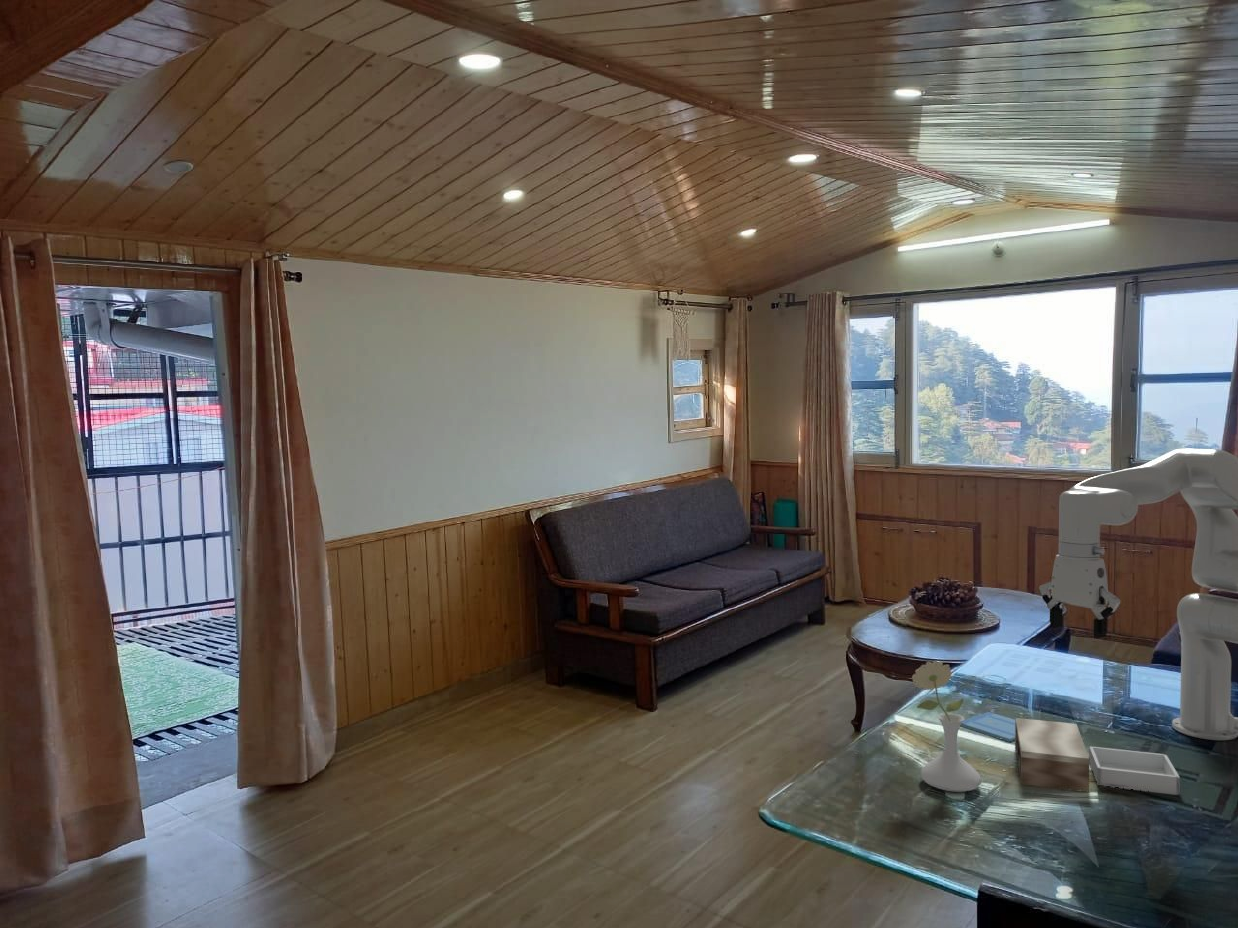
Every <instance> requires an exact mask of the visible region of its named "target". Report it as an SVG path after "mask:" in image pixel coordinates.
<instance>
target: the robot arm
mask: <svg viewBox="0 0 1238 928" xmlns="http://www.w3.org/2000/svg"><path fill="white" fill-rule="evenodd" d="M1179 492H1180V494H1181V496H1182V498H1183V500H1184V501H1185V502H1186V503H1187V505H1188V506H1189V508H1190V509H1191V510H1192V513H1193V515H1194V517H1195V521H1196V535H1195V536H1196V537H1195V541H1194V542H1195V543H1194V551H1193V555H1192V564H1191V577H1192V580H1193V582H1195V584H1196V585H1199V586H1201V587H1204V588H1208V589H1213V590H1218V591H1224V592H1228V593H1229V592H1230V593H1235V594H1238V516H1237V514H1236V512H1235V511H1234V510H1238V457H1237V456H1235V455H1234V454H1232V453H1230V452H1228V451H1226V450H1223V449H1220V448H1219V449H1217V448H1191V447H1189V448H1188V447H1187V448H1186V447H1185V448H1176V449H1173V450H1169V451H1168V452H1166V453H1164V454H1162V455H1160V456H1158V457H1156V458H1153V459H1152V460H1150V461H1148V462H1145V463H1143V464H1141V465H1139V466H1135V467H1130V468H1124V469H1122V470H1121V469H1120V470H1117V471H1113V472H1108V473H1103V474H1099V475H1097V476H1093V477H1090V478H1087V479H1085V480H1083V481H1081V482H1079V483H1077V484H1075V485H1073V486H1072V487H1070V488H1069V490H1066V491H1062V492H1061V494H1060V495H1059V499H1058V500H1059V502H1058V506H1059V509H1058V554H1055V559H1054V563H1053V567H1052V573H1051V574H1052V575H1051V581H1048V582H1046V583H1044V584H1041V585H1039V587H1038V589H1039V592H1040V594H1041V596H1042V600H1043V602H1045V604H1046V608H1047V609H1048V610H1049V627H1050V628H1051V629H1057V628H1061V627H1063V614H1064V613H1063V612H1064V611H1063V610H1064V609H1063V608H1062V607H1061V606H1062V605H1063V604H1067V605H1071V606H1076V607H1081V608H1087V609H1091V612H1092V613H1093V614H1094V615H1095V617H1096V618H1094V619H1093V638H1094V639H1101V638H1105V637H1107V633H1108V619H1109V618H1111V616H1112V615H1113V614H1115V612H1117V609H1118V607H1119V606H1120V604H1121V602H1122V601H1121V599H1120V598H1119V597H1117V596H1116V595H1114V594H1113V593H1112V592H1111V591H1109V585H1108V584H1109V583H1108V575H1107V569H1106V563H1105V561H1104V558H1100V557H1101V555H1102V556H1104V555H1105V553H1106V550H1105V548H1104V547H1101V543H1100V542H1101V540H1100V539H1101V538H1100V537H1101V525H1109V526H1122V525H1125V524H1128V523H1130V522H1131V521H1133V520H1134V518H1135V517H1136V515H1137V513H1138V511H1139V507H1138V506H1139V505H1141V506H1142V505H1149V504H1154V503H1155V504H1156V503H1159V502H1162V501H1164V500H1166V499H1168V498H1170V497H1171V496H1173V495H1176V494H1178V493H1179ZM1050 590H1051V593H1050ZM1106 606H1107V607H1106ZM1176 618H1177V623H1178V628H1179V634H1180V646H1181V648H1180V649H1181V651H1180V652H1181V654H1180V657H1181V658H1180V659H1181V661H1180V700H1179V701H1180V702H1179V703H1180V705H1179V717H1176V718H1173V719H1172V720H1171V726H1172V728H1173V729H1174V730H1175V731H1177V732H1179V733H1181V734H1183V735H1186V736H1189V737H1193V738H1198V739H1203V740H1208V741H1210V740H1211V741H1230V740H1231V741H1232V740H1235V739H1236V738H1238V717H1236V716H1234V715H1232V713H1231V688H1232V685H1231V684H1232V656H1231V651H1230V650H1229V648H1228V646H1227V644H1226V643H1225V642H1229V643H1234V644H1237V645H1238V599H1235V598H1231V597H1226V596H1221V595H1220V596H1219V595H1216V594H1210V593H1197V592H1195V593H1190V594H1186V595H1185V596H1183V597H1182V598H1181V599H1180V600H1179V602H1178V605H1177V608H1176Z"/></svg>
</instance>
